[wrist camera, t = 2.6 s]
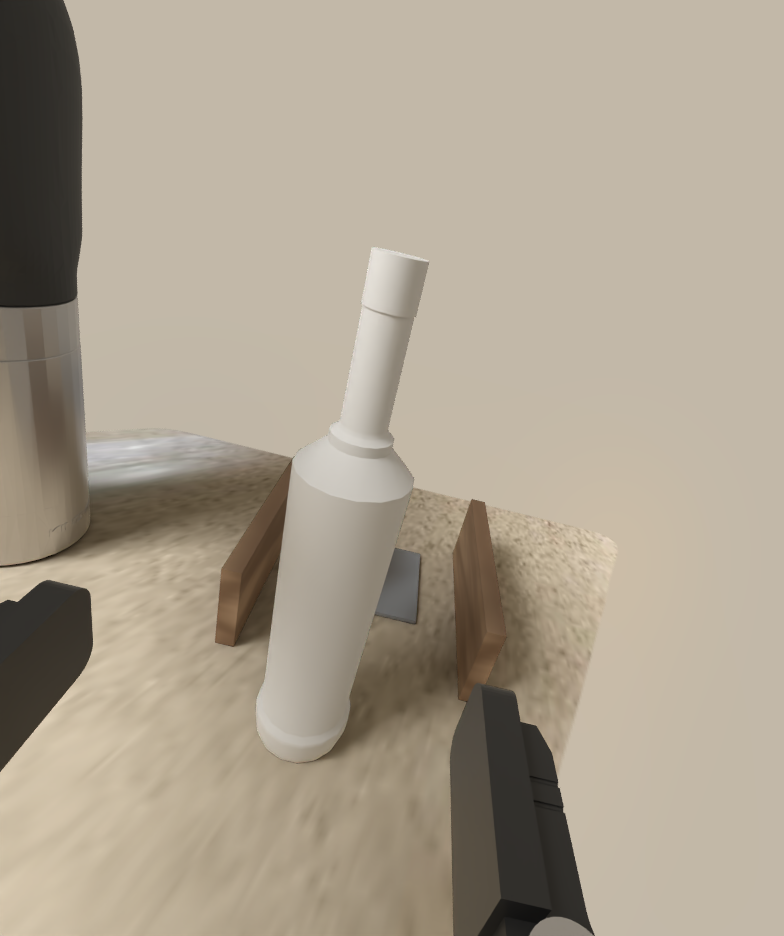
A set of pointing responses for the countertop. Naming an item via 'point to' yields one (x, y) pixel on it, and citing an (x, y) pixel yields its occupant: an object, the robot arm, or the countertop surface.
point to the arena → (398, 599)
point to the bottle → (340, 530)
